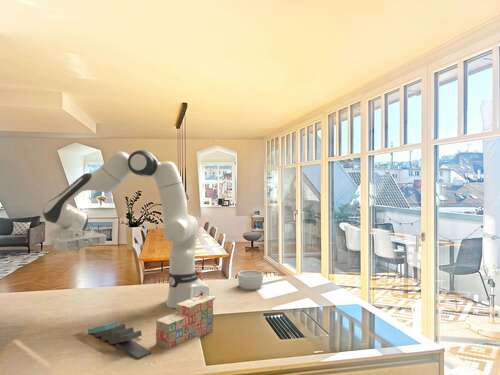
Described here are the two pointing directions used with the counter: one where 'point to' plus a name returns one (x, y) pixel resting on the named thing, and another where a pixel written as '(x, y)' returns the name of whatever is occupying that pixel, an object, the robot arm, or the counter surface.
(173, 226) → the robot arm
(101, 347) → the oak board
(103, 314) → the counter surface
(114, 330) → the domino
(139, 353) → the domino
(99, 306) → the counter surface
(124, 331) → the domino
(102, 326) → the domino
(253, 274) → the ramekin
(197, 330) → the stack of blocks
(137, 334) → the domino
